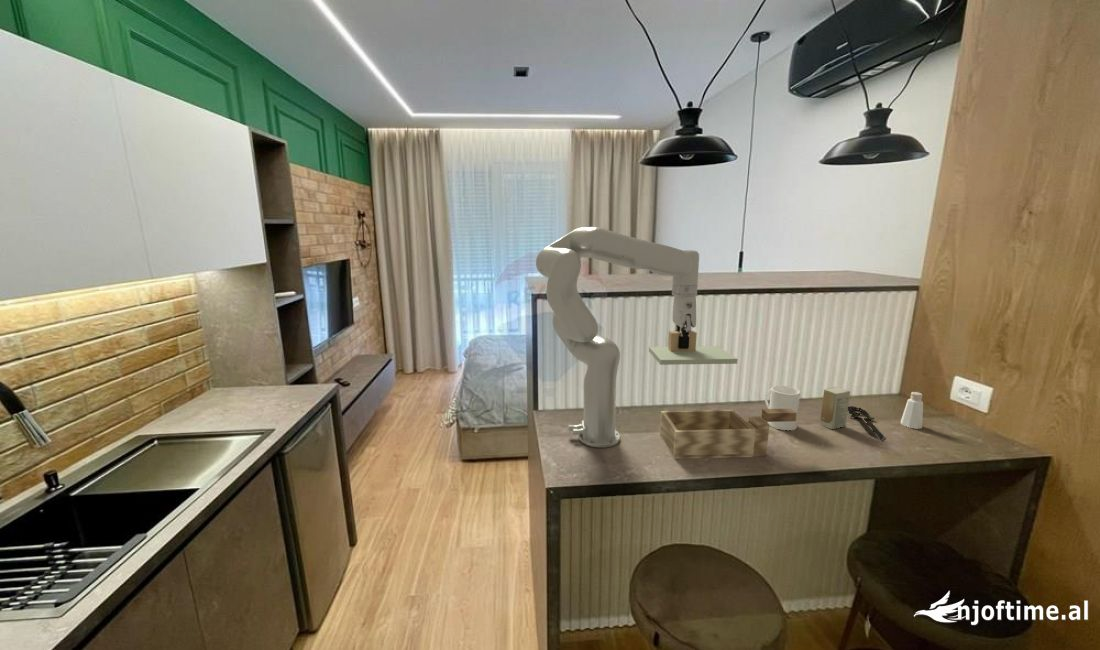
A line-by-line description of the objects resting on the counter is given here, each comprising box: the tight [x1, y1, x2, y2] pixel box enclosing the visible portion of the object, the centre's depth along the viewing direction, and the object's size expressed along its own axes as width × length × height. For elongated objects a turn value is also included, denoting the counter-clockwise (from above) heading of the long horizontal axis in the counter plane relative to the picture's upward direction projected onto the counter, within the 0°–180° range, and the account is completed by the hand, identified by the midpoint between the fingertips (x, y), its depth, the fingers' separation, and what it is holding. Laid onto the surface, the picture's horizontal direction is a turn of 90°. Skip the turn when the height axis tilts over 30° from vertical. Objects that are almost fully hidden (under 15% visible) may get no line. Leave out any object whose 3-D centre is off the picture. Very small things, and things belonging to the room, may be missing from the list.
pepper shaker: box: [900, 391, 924, 430], centre depth 133 cm, size 5×5×11 cm
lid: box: [648, 330, 739, 366], centre depth 132 cm, size 23×15×8 cm, turn 90°
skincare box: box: [819, 386, 851, 430], centre depth 133 cm, size 6×4×12 cm
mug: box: [764, 385, 801, 432], centre depth 136 cm, size 12×8×12 cm
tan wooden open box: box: [659, 409, 770, 460], centre depth 121 cm, size 26×14×10 cm, turn 92°
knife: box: [848, 405, 886, 441], centre depth 136 cm, size 25×6×1 cm, turn 155°
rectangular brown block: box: [761, 408, 797, 422], centre depth 117 cm, size 8×3×2 cm, turn 92°
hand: (681, 346), depth 135 cm, fingers closed on lid, 3 cm apart
